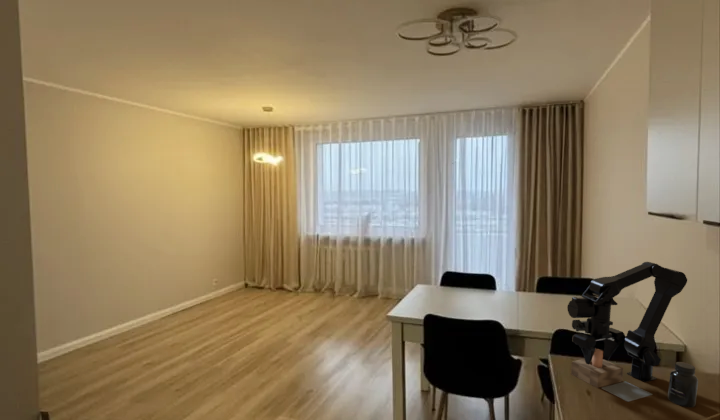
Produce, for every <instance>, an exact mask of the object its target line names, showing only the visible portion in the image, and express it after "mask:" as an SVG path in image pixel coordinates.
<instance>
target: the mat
mask: <svg viewBox="0 0 720 420" xmlns="http://www.w3.org/2000/svg"><path fill="white" fill-rule="evenodd" d="M601 389H602V390H604V391H606V392H607V393H610V394H612V395H614V396H616V397H618V398H620V399H621V400H623V401H625V402H633V401H635V400H639V399H644V398H646V397H650V396H652V395H653V393H651V392H649V391H646V390H645V389H642V388H641V387H638V386H636V385H634V384H633V383H629V382H628V381H622V382H618V383H614V384H610V385H606V386H602V387H601Z"/></svg>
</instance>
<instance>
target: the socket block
mask: <svg viewBox="0 0 720 420" xmlns="http://www.w3.org/2000/svg"><path fill="white" fill-rule="evenodd" d="M592 359H593V357H592ZM623 372H624V368H623V367H622V366H619V365H617V364H615V363H612V362H611V361H609V360H606V359H605V358H603V363H602V368H596V367H594V366H592V360H591V362H590V364H586V361H585V358H581V359H577V360H573V361H571V368H570V374H571V375H572V376H573V377H574V378H578V379H579V380H581V381H583V382H585V383H587V384H589V385H590V386H592V387H595V388H596V389H597V388H602V387H606V386H610V385H614V384H618V383H621V382H623V377H624V376H623V374H624V373H623Z"/></svg>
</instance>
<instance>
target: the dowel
mask: <svg viewBox="0 0 720 420" xmlns="http://www.w3.org/2000/svg"><path fill="white" fill-rule="evenodd" d="M603 359H604V350H603V349H601V348H596V349H595V352H594V355H593V359H592V366H594V367H596V368H602V363H603Z"/></svg>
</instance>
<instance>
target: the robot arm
mask: <svg viewBox="0 0 720 420" xmlns="http://www.w3.org/2000/svg"><path fill="white" fill-rule="evenodd" d="M651 277H652V278H654V281H653V284H654V289H655V290H654V293H653V295H652V298H651V299H650V302H649V304H648V306H647V307H646V311H645V312H644V314H643V316H642V319H641V320H640V323H639V325H638V327H637V328H635V329H634V330H631V329H629V330H628V331H627V333H626V334H625V333H624V331H622V330H619V329H616V328H613V327H611V326H613V324H614V322H613V321H612V320H611V311H612V306H618V302H616V301H615V299H614V298H615V297H617V296H618V295H619V294H620V293H621V292H622V290H624V289H625V288H628V287H630V286H633V285H634V284H637V283H639V282H642V281H645V280H646V279H647V280H648V279H649V278H651ZM687 283H688V278H687V275H686V274H685V273H684V272H682V271H679V270H675V269H671V268H668V267H663V266H661V265H660V264H658V263H655V262H650V261H643V262H642V263H641V264H639V265H637V266H634V267H632V268H630V269H627V270H625V271H623V272H620V273H618V274H615V275H612V276H602V277H597V278H594V279H592V280H591V281H590V283H589V285H588V287H587V288H586V290H584V292H583V293H582V295H581V297H577V296H572V297H571V300H570V301H569V302H568V304H567V313H568V315H569V316H570V317H571V318H573V320H572V322H571V327H572V329H573V330H575V332H579V333H575V334H572V338H571V339H572V340H571V341H572V343H574V344H575V345H576V346H579V348H580V349H581V351H582V354H583V355H582V356H583V359H585V361H586V364H590V362H591V360H592V357H593V355H594V352H595V349H597V347H596V345H597V342H598V341H602V342H603V344H604V345H603V346H604V348H603V356H604V360H606V361H609V360H610V359H611V357H612V356H613V355H614V353H615V351H616V350H617V349H618V347H620V345H621V344H623V347H624V349H625V350H626V352H627V355H628V356H630V357H631V358H632V360H631V366H630V367H631V368H630V369H631V371H629V372H627V373H626V375H628V376H631V377H632V378H635V379H637V380H639V381H641V382H644V383H648V382H651V381H652V382H653V381H654V380H657V377H656V376H653V368H654V367H656V366H659V365H660V362H661V360H662V359H661V358H660V356H658V355H657V354H656V353H655V348H656V339H655V335H656V333H657V330H658V328H659V326H660V324H661V322H662V320H663V318H664V316H665V313H666V311H667V310H668V307H669V305H670V303H671V301H672V299H673V298H674V297H675V296H677V295H679V294H680V293H681V292H682V291H683V289H684V288H685V287H686V285H687ZM580 319H586V320H580ZM581 331H582V332H581Z"/></svg>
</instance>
